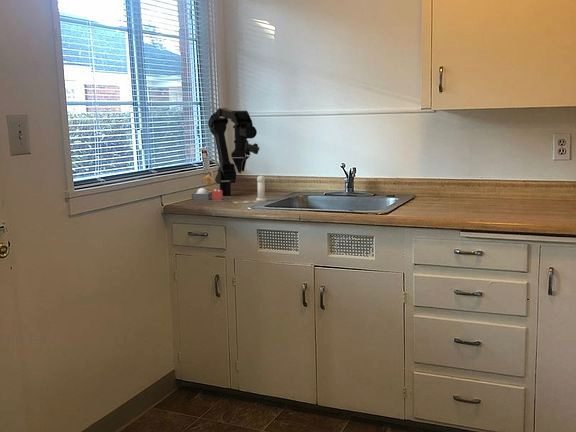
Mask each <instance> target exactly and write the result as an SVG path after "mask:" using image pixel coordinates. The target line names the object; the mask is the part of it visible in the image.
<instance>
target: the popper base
mask: <svg viewBox="0 0 576 432" xmlns="http://www.w3.org/2000/svg"><path fill="white" fill-rule="evenodd" d="M212 190H213V189H212ZM197 191H198V190H197ZM197 191H194V192H192V193H191V200H190V202H191V203H190V204H192V205H193V203H195V202H226V201H227V200H229V198H228V197H226V198H225V197H224V196H222V190H220V189H214V190H213V191H212V192H209V191H207V192H208V194H195V193H197Z"/></svg>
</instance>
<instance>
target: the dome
mask: <svg viewBox="0 0 576 432" xmlns="http://www.w3.org/2000/svg"><path fill="white" fill-rule="evenodd" d="M208 192H209V191H207V189H206V188H205V187H201V188H198V189H197V193H195V194H208Z"/></svg>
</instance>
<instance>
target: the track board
mask: <svg viewBox="0 0 576 432" xmlns="http://www.w3.org/2000/svg"><path fill="white" fill-rule="evenodd" d="M264 202H267V200H266V201H264ZM233 203H235V204H246V203H259V202H258V201H256V199H255V200H240V201H238V200H237V201H233Z"/></svg>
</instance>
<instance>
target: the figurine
mask: <svg viewBox="0 0 576 432" xmlns="http://www.w3.org/2000/svg"><path fill="white" fill-rule="evenodd" d="M204 180H205V181H206V185H207V189H208V192H212V191H213V186H214V185H213V184H212V181H213V183H215V184H216V185H218V183H216V182H215V179H214V178H213V177H211V175H210V173H208V174H206V175H205V176H203V177H202V178H201V184H204ZM211 180H212V181H211Z"/></svg>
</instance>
